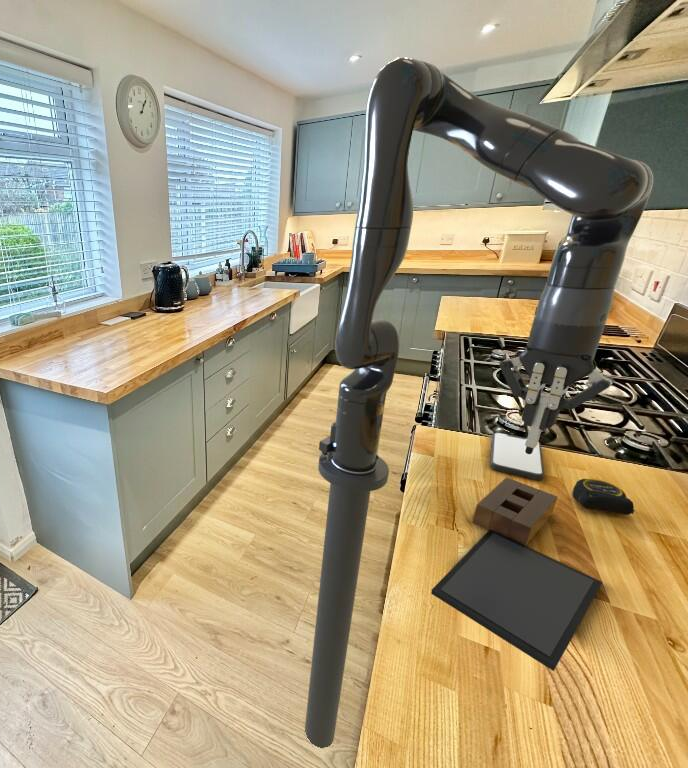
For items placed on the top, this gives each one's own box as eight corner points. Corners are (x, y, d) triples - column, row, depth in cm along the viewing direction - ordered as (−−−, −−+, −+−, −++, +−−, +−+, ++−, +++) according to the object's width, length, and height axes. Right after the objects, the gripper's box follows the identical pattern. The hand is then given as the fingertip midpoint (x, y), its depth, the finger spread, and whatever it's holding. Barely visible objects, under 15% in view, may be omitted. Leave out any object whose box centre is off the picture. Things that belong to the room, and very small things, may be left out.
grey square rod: (522, 453, 67) (540, 395, 64) (524, 451, 68) (543, 394, 64) (531, 456, 66) (550, 398, 63) (533, 454, 67) (553, 396, 63)
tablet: (430, 593, 60) (431, 588, 60) (488, 533, 71) (490, 528, 70) (553, 671, 49) (556, 666, 49) (600, 586, 60) (603, 581, 60)
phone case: (543, 483, 83) (539, 446, 94) (545, 476, 82) (541, 440, 94) (488, 470, 88) (491, 436, 99) (490, 463, 87) (492, 430, 99)
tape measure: (578, 512, 74) (585, 495, 73) (564, 490, 80) (570, 474, 78) (630, 521, 71) (638, 504, 70) (611, 498, 77) (618, 481, 76)
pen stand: (472, 522, 73) (476, 504, 72) (501, 494, 80) (506, 476, 78) (524, 547, 67) (531, 528, 66) (551, 514, 74) (558, 496, 72)
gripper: (644, 320, 55) (602, 434, 62) (521, 307, 66) (495, 406, 72) (631, 330, 51) (587, 451, 58) (501, 314, 62) (476, 418, 68)
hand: (536, 426), depth 65 cm, fingers closed on grey square rod, 1 cm apart
